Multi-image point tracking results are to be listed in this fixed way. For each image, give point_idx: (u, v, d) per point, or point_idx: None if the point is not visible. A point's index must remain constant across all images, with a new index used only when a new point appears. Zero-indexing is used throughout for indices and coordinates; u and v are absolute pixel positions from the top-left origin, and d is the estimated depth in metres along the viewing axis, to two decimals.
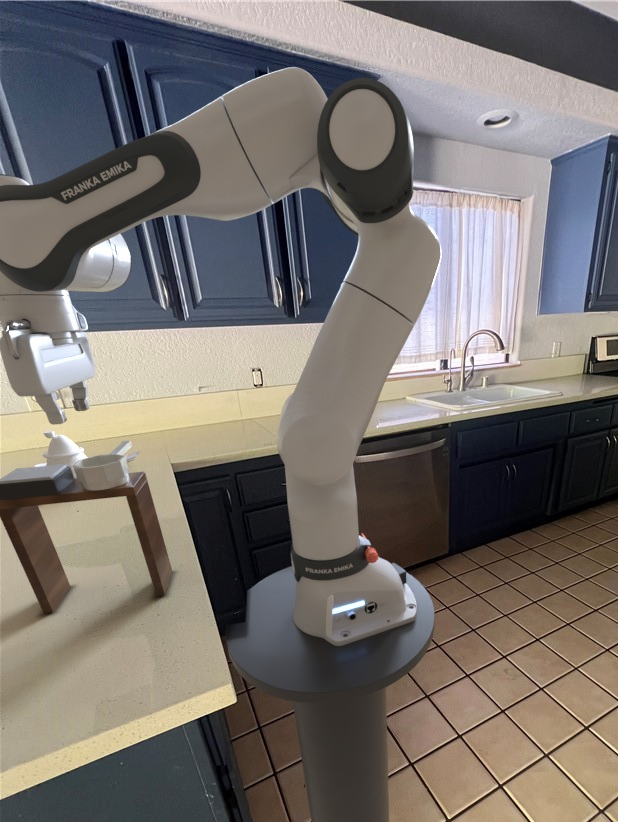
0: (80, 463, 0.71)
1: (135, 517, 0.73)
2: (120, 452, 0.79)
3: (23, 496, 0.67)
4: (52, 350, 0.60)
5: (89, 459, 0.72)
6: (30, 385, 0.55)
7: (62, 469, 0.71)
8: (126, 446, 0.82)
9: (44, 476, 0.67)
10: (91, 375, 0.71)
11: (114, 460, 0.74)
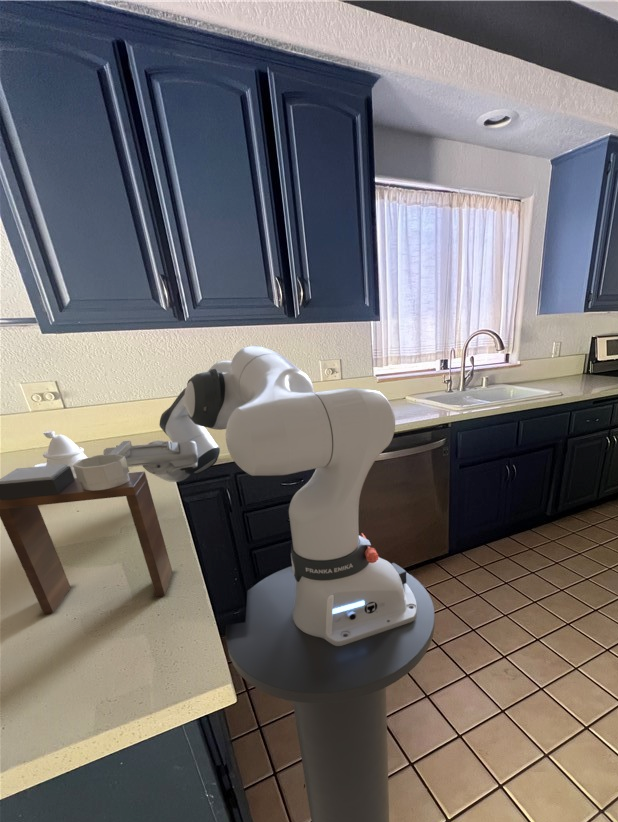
0: (80, 463, 0.71)
1: (135, 517, 0.73)
2: (120, 452, 0.79)
3: (23, 496, 0.67)
4: None
5: (89, 459, 0.72)
6: None
7: (62, 469, 0.71)
8: (126, 446, 0.82)
9: (44, 476, 0.67)
10: (183, 441, 1.03)
11: (114, 460, 0.74)
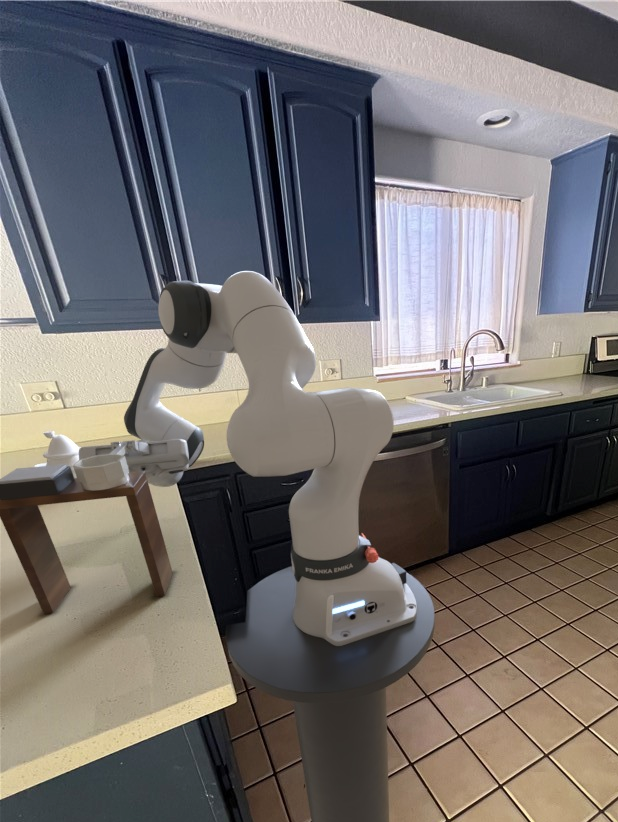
0: (80, 463, 0.71)
1: (135, 517, 0.73)
2: (120, 452, 0.79)
3: (23, 496, 0.67)
4: None
5: (88, 459, 0.72)
6: None
7: (62, 469, 0.71)
8: (126, 446, 0.82)
9: (44, 476, 0.67)
10: (171, 439, 0.89)
11: (114, 460, 0.74)
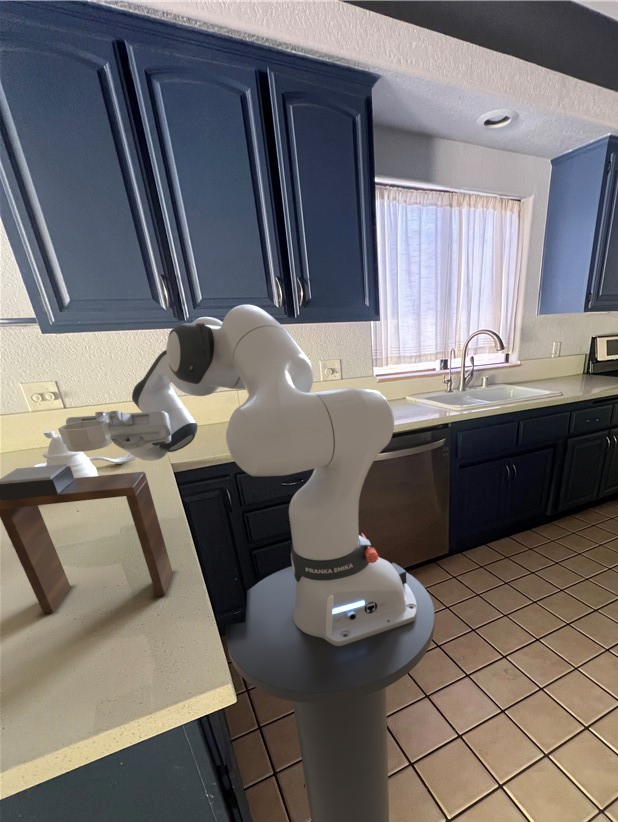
0: (65, 427, 0.77)
1: (135, 517, 0.73)
2: (103, 420, 0.85)
3: (23, 496, 0.67)
4: None
5: (73, 424, 0.79)
6: None
7: (62, 469, 0.71)
8: (109, 415, 0.88)
9: (44, 476, 0.67)
10: (153, 411, 0.95)
11: (97, 426, 0.81)
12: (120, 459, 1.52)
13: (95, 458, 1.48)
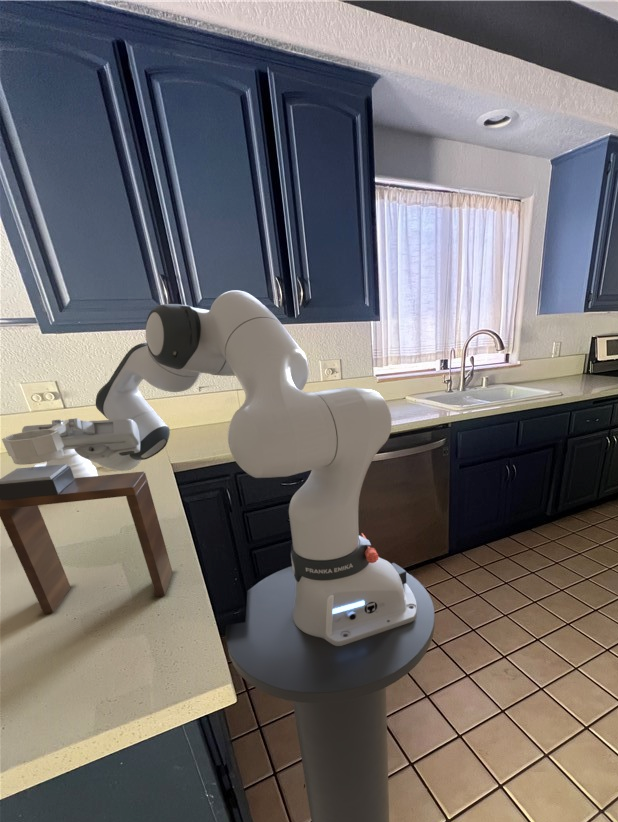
0: (10, 437, 0.70)
1: (135, 517, 0.73)
2: (59, 429, 0.78)
3: (23, 496, 0.67)
4: None
5: (21, 434, 0.71)
6: None
7: (62, 469, 0.71)
8: (67, 424, 0.81)
9: (44, 476, 0.67)
10: (118, 419, 0.88)
11: None
12: None
13: None
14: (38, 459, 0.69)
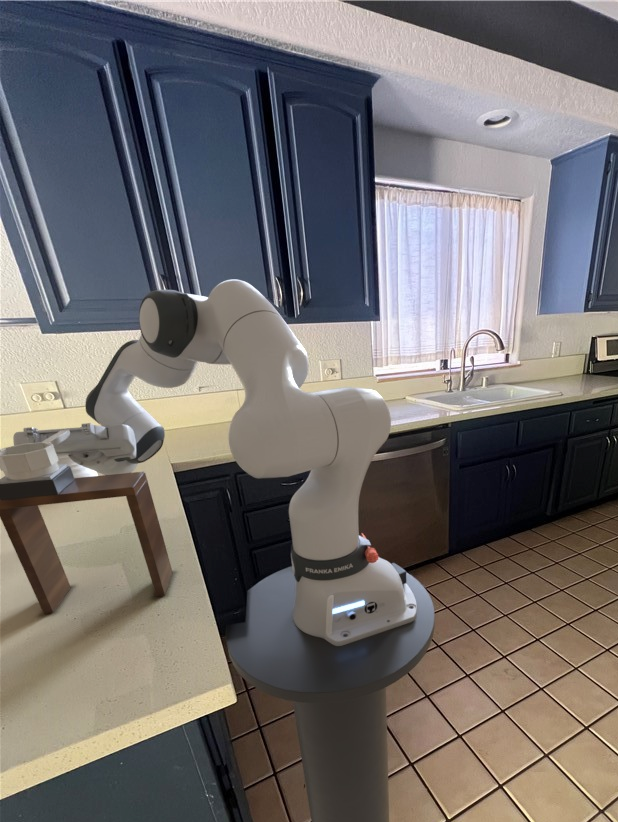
0: (3, 451, 0.67)
1: (135, 517, 0.73)
2: (53, 441, 0.75)
3: (23, 496, 0.67)
4: None
5: (14, 447, 0.69)
6: None
7: (62, 469, 0.71)
8: (62, 435, 0.79)
9: (44, 476, 0.67)
10: (113, 424, 0.85)
11: (43, 449, 0.71)
12: None
13: None
14: (31, 474, 0.67)
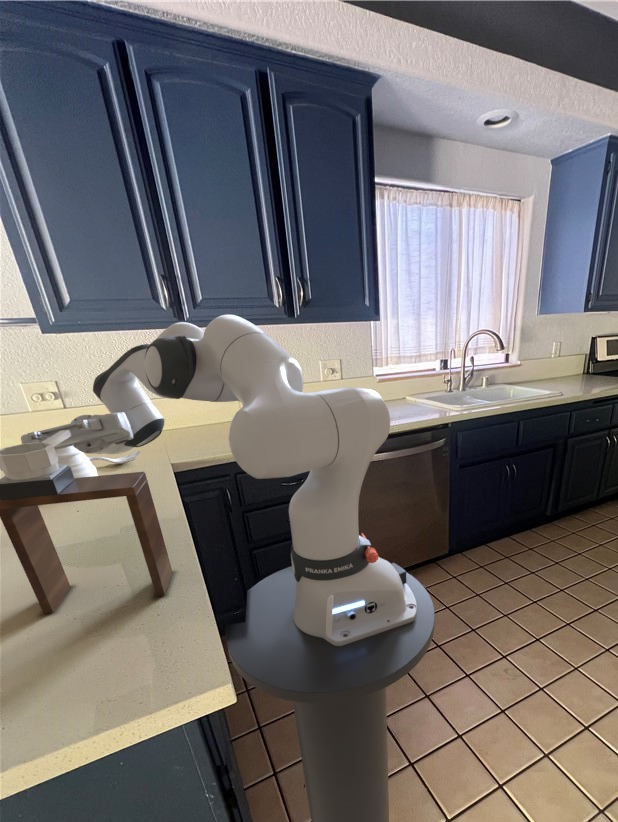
0: (3, 451, 0.67)
1: (135, 517, 0.73)
2: (53, 441, 0.75)
3: (23, 496, 0.67)
4: None
5: (14, 447, 0.69)
6: None
7: (62, 469, 0.71)
8: (62, 435, 0.79)
9: (44, 476, 0.67)
10: (104, 415, 0.91)
11: (43, 449, 0.71)
12: (120, 459, 1.52)
13: (95, 458, 1.48)
14: (31, 474, 0.67)
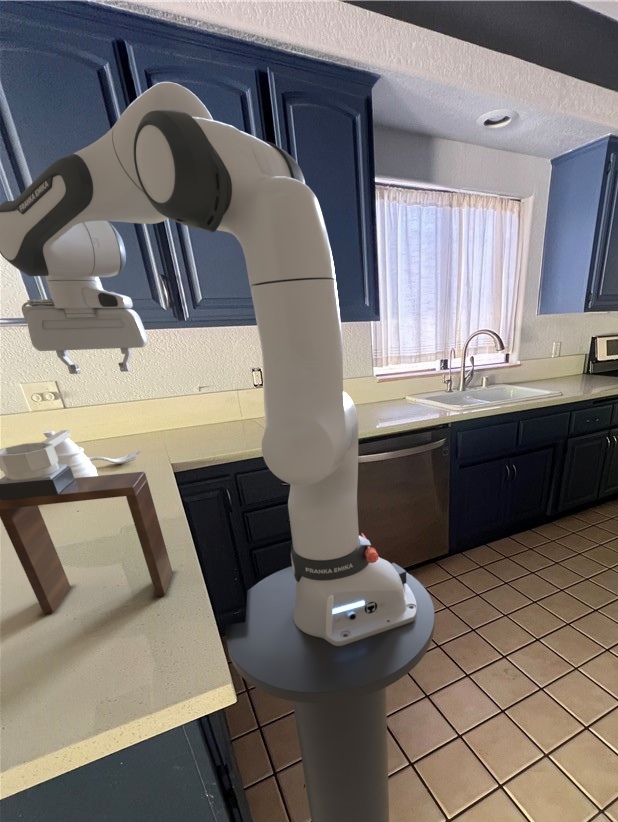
0: (3, 451, 0.67)
1: (135, 517, 0.73)
2: (53, 441, 0.75)
3: (23, 496, 0.67)
4: (66, 322, 0.83)
5: (14, 447, 0.69)
6: None
7: (62, 469, 0.71)
8: (62, 435, 0.79)
9: (44, 476, 0.67)
10: (131, 345, 0.87)
11: (43, 449, 0.71)
12: (120, 459, 1.52)
13: (95, 458, 1.48)
14: (31, 474, 0.67)
